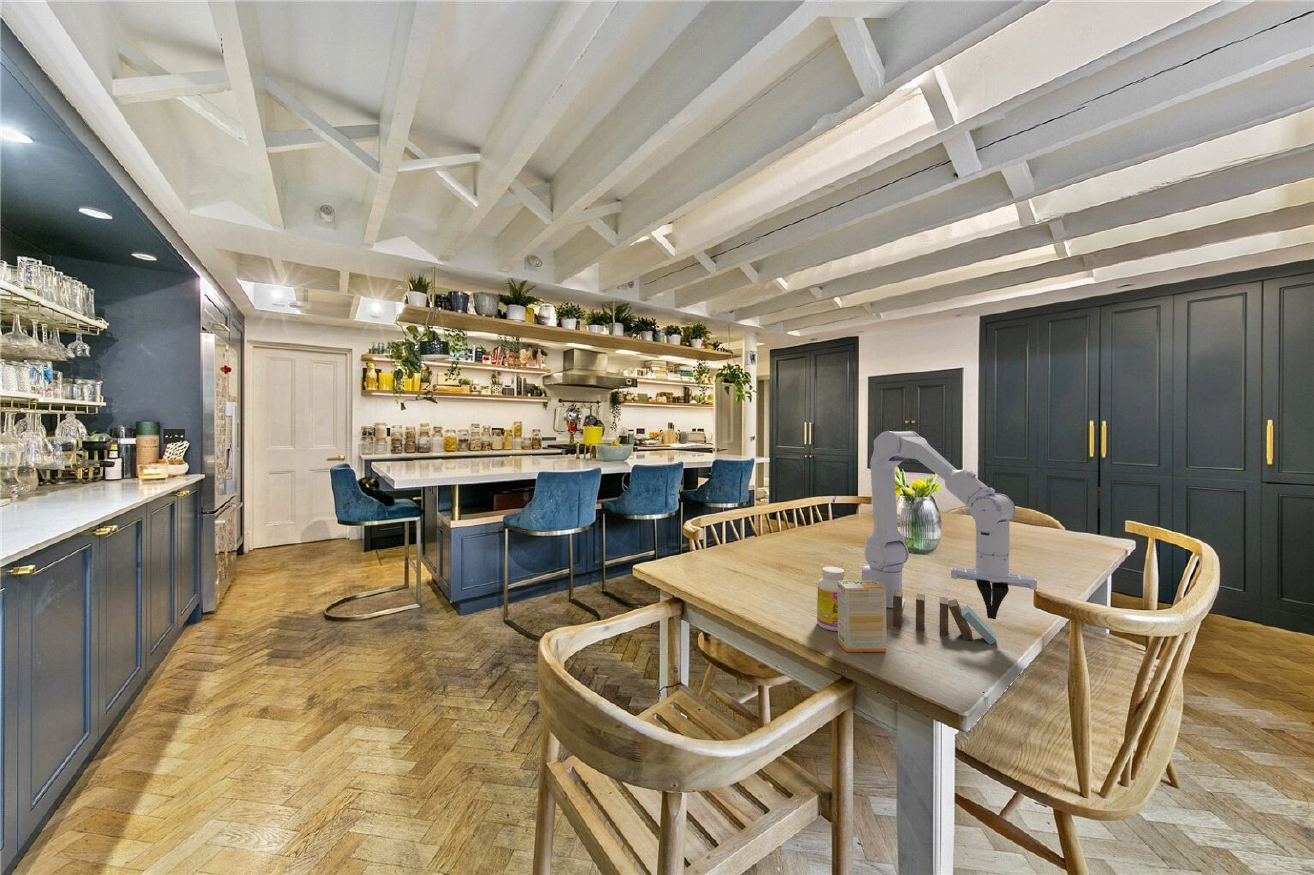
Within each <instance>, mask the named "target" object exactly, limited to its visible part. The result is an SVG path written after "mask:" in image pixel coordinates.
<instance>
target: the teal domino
mask: <svg viewBox="0 0 1314 875" xmlns="http://www.w3.org/2000/svg"><path fill="white" fill-rule="evenodd" d="M961 612H962V616H963V617H964V618H965V620H966V621H967V622H968V624H969V626H971V627H972V628H973V630H975V631H976V632H977V633H978V634H979V635H980V637H982V638H983V640H985V642H986V643H987V644H988V645H990V646H991V645H992V644H994V643H996V642H997V637H996V632H994V630H992V629H991V627H990V626H989V625H988V624H987V623H985V621H984V620H983V619H982V618H981V617H980V616H979V615H978V614H977V613H976V612H975V611H974V610H973V609H972V608H971V607H970V606H969V605H968V604H967V605H965V606H964V607H961Z"/></svg>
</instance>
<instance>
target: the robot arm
mask: <svg viewBox="0 0 1314 875" xmlns="http://www.w3.org/2000/svg"><path fill="white" fill-rule="evenodd" d="M872 452H873V453H872V454H871V458H870V463H869V464H870V479H871V480H870V481H871V482H870V483H871V498H872V516H873V531H872V532H871V533H870V534H869V535H868V536H867V538H866V547H865V550H864V558H865V560H866V563H867V565H863V566H862V568H861V570H862V571H861V581H877V582H879V583H880V584H881V585H883V586H884V587H886V608H889V609H893V594H894V591H895V590H899V591H903V569H904V568H905V567H904V565H905V564H906V563H907V562H908V560H909V558H910V552H909V548H908V546H907V544H906V541H905V540H906V539H905V536H904V535H903V534H902V533H901V532H900V531H899V527H898V526H899V525H898V524H899V523H898V510H897V508H898V507H897V493H896V478H895V469H896V468H897V467H898V466H899V465H900V464H901V463H902V462H904V460H907V459H913V460H917V461H918V462H920V463H922V465H924V466H925V467H927V469H928V470H931V471H932V472H933V473H935V474H936V475H937V476H939V478H941V479H943V481H944V485H945V486H944V487H945V488H946V490H947V491H948V492H950V493H951V494H952V495H953V496H954V497H956V499H958V500H959V501H960V502H961V503H963V504H964V505H965V506H966V507H967V508H968V509H969V513H970V515H971V516H970V517H972V519H973V520H974V522H975V568H964V567H962V568H960V567H950V578H951V579H953V580H957V579H960V580H966V581H967V580H968V581H975V582H976V586H977V588H978V591H979V593H980V594H981V597H982V599H983V601H984V605H985V609H986V616H987V619H989V620H990V619H992V620H997V616H998V611H999V609H1000V606H1001V604H1002V602H1003V601H1004V599H1005V597H1006V596H1007V595H1008V594H1009V590H1010V589H1009V586H1010V587H1011V586H1013V587H1018V588H1026V589H1030V590H1035V591H1037V590H1038V589H1037V588H1038V587H1037V584H1038V581H1037V579H1036V578H1035V577H1030V576H1025V575H1021V574H1016V573H1010V523H1011V521H1010V520H1011V519H1013V518H1014V516H1015V515H1016V510H1017V508H1016V505H1015V502H1013V500H1012V499H1010V497H1009V496H1008V495H1006V494H1003V493H996V489H994V488H993V487H989V486H987V485H986V484H985V483H984V482H983V481H981V480H979V479H978V478H977V474H976V473H975V472H974V471H972V470H971V471H969V470H966V469H957V468H956V467H955V466H953V464H951V463H950V462H949V461H948V460H947V459H946V458H945V457H944V456H942V455H941V454H940V453H939V452H938V451H937V450H935V449H934V448H933V447H932V446H931V445H930V444H929V443H928V441H927V440H926V438H924V437H922V436H920V435H919V434H918V433H917V432H916V431H913V430H906V431H890V430H886V431H885V430H884V431H883V432H881V433H880V434H879V435H878V436H877V437H875V439H874V440H873V451H872ZM905 600H906V599H905V598H903V597H902V611H903V610H904V607H905Z"/></svg>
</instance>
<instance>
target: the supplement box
mask: <svg viewBox="0 0 1314 875" xmlns="http://www.w3.org/2000/svg"><path fill="white" fill-rule="evenodd" d="M837 585H838V631H837V643H838V644H839V645H840V647H842V649H843V650H844V651H845V652H846V653H876V652H877V653H885V652H887V607H886V587H884V586H883V585H881V584H880V583H879V582H877V581H862V580H844V581H837Z"/></svg>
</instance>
